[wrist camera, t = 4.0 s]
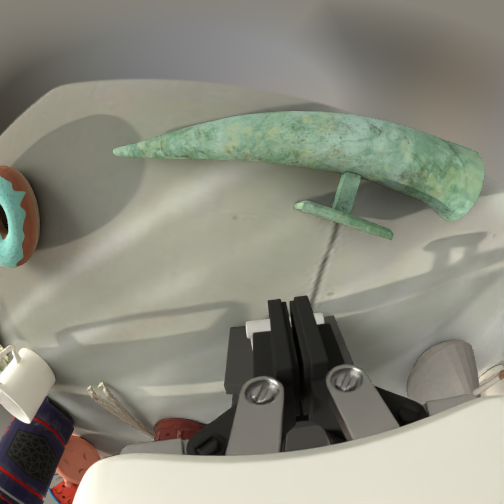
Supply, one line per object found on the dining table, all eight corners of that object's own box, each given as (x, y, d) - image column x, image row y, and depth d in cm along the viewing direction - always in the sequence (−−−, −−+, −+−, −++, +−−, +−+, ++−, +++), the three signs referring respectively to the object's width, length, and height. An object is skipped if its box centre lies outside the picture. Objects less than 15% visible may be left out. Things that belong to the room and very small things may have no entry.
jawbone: (87, 385, 33) (82, 394, 31) (104, 380, 33) (100, 390, 31) (157, 440, 40) (156, 448, 38) (177, 437, 39) (175, 446, 37)
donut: (-11, 239, 24) (-30, 250, 21) (-6, 153, 20) (-29, 158, 16) (44, 273, 26) (25, 289, 23) (53, 177, 22) (28, 185, 18)
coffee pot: (440, 384, 34) (477, 450, 20) (387, 392, 33) (420, 474, 19) (501, 267, 26) (570, 324, 12) (451, 258, 25) (538, 333, 11)
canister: (38, 384, 35) (-24, 500, 7) (84, 424, 38) (40, 541, 11) (22, 396, 38) (-29, 489, 10) (61, 430, 41) (22, 524, 14)
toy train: (107, 483, 38) (68, 516, 24) (125, 509, 41) (94, 539, 27) (78, 461, 41) (40, 490, 27) (97, 491, 44) (67, 517, 30)
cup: (35, 335, 30) (1, 377, 21) (62, 389, 35) (38, 430, 25) (5, 325, 30) (-28, 361, 21) (31, 377, 34) (7, 413, 25)
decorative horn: (88, 154, 17) (466, 270, 17) (137, 31, 15) (490, 144, 15) (129, 164, 24) (425, 255, 24) (165, 65, 22) (448, 154, 22)
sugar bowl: (58, 424, 38) (57, 427, 43) (41, 475, 27) (42, 471, 32) (108, 450, 42) (101, 450, 47) (95, 500, 31) (88, 493, 36)
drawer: (223, 294, 26) (213, 349, 18) (334, 280, 25) (361, 331, 18) (247, 401, 32) (246, 452, 24) (328, 392, 31) (340, 441, 24)
